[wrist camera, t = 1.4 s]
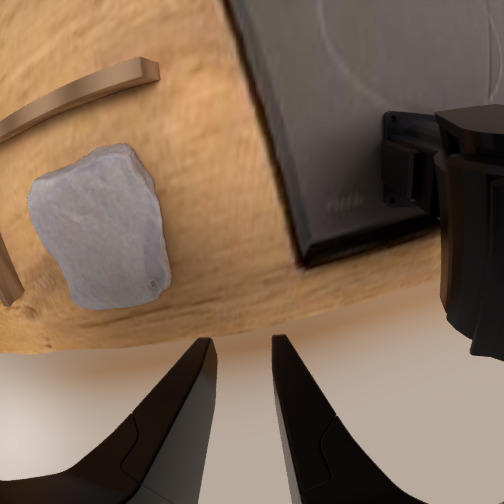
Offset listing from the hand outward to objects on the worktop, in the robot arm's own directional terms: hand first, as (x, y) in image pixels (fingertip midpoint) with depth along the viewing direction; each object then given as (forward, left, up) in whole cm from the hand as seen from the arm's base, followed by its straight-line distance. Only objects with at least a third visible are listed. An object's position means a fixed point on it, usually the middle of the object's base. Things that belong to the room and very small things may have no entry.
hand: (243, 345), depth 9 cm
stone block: (+11, 0, -12) cm, 17 cm away
